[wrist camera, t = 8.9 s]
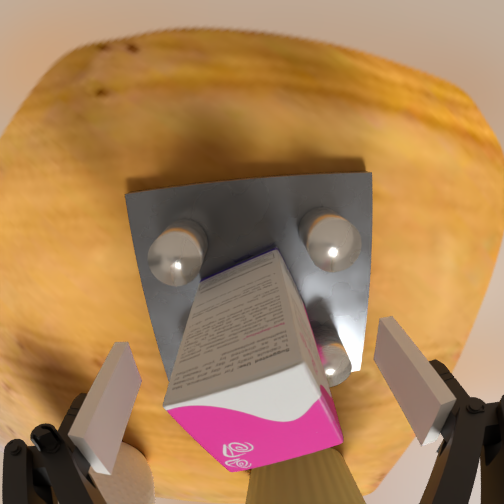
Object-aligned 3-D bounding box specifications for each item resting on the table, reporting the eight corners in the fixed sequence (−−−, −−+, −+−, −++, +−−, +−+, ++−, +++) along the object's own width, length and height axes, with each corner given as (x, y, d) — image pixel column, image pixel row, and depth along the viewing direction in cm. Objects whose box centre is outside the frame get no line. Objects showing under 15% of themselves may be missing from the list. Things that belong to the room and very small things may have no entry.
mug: (131, 488, 33) (114, 558, 20) (64, 452, 30) (35, 521, 18) (180, 458, 29) (166, 554, 17) (95, 412, 27) (54, 508, 14)
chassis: (172, 379, 25) (162, 416, 21) (130, 192, 20) (102, 204, 15) (356, 363, 25) (372, 397, 20) (366, 171, 20) (395, 178, 15)
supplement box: (196, 280, 21) (155, 405, 10) (277, 244, 20) (313, 354, 9) (234, 344, 22) (229, 477, 12) (309, 314, 22) (353, 442, 11)
